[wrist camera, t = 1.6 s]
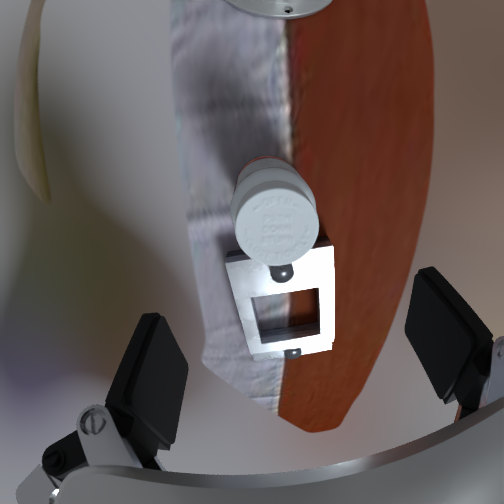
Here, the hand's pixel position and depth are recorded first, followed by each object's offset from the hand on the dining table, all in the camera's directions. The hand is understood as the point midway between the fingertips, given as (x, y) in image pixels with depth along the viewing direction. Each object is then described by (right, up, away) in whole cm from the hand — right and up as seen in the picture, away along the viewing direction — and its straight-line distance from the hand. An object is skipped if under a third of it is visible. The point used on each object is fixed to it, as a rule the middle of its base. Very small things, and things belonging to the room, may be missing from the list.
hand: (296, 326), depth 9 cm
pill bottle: (0, +9, +17) cm, 19 cm away
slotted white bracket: (+3, -4, +24) cm, 24 cm away
